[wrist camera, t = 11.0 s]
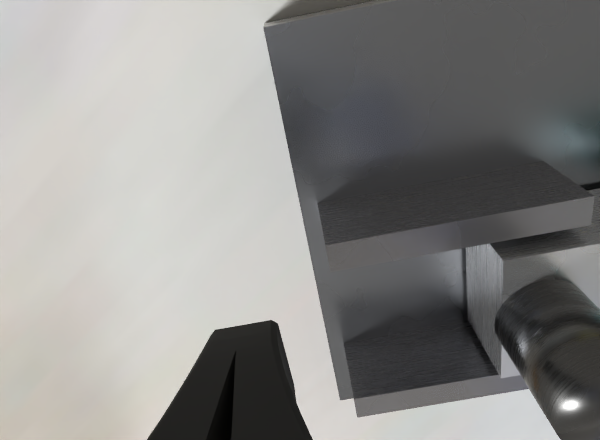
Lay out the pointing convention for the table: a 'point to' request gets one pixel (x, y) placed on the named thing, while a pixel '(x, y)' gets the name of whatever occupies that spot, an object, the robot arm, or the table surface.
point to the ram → (544, 319)
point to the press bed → (431, 171)
